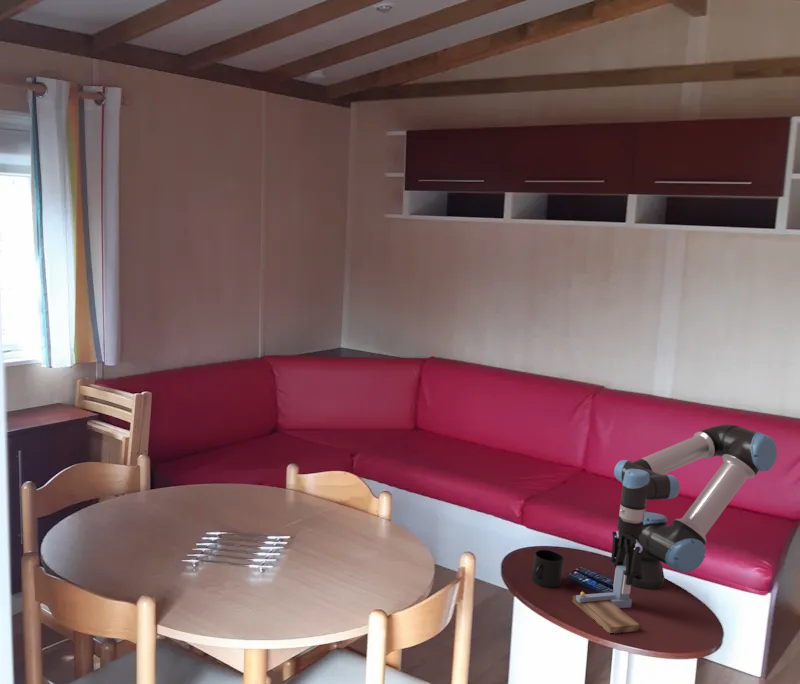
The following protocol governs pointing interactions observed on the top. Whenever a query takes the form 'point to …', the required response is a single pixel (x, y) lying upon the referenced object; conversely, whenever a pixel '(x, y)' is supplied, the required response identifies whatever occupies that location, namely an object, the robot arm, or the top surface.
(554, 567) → the mug
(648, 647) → the top surface
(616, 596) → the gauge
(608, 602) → the board
